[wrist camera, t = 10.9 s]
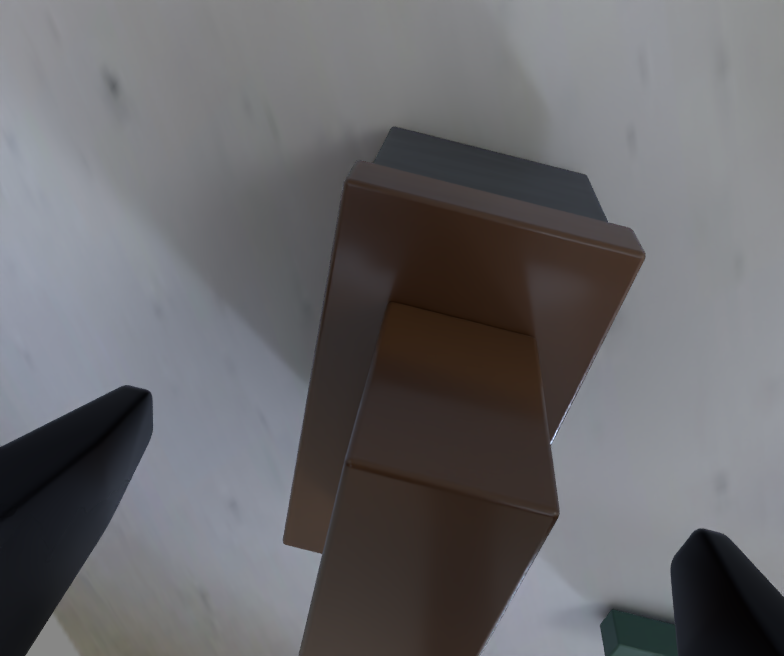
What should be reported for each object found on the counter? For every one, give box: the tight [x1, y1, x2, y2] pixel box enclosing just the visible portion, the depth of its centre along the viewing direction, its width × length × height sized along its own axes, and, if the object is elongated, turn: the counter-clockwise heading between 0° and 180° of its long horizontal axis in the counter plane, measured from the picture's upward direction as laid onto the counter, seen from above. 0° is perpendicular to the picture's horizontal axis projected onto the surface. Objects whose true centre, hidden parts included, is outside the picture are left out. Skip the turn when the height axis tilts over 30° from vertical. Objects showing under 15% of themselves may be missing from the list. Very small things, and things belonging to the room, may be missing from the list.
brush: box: [283, 127, 645, 656], centre depth 11 cm, size 8×4×8 cm, turn 168°
